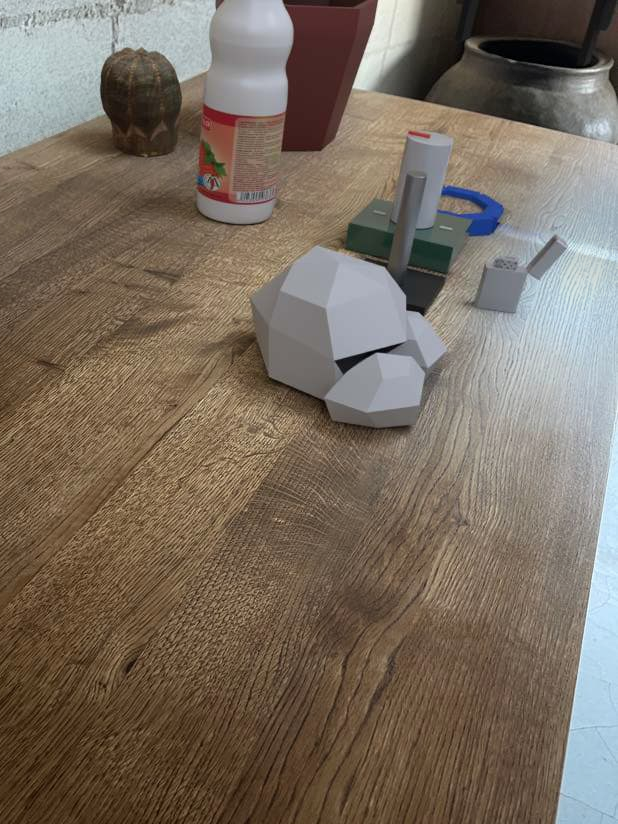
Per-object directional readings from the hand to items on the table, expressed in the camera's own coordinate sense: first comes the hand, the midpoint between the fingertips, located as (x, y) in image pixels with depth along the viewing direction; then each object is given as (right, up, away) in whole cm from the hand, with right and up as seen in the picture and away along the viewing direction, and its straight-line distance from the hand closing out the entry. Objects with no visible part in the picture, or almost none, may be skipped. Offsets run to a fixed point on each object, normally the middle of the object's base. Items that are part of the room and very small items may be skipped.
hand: (521, 51), depth 100 cm
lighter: (-3, -29, -5) cm, 30 cm away
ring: (-4, -13, +15) cm, 20 cm away
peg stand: (-15, -27, -4) cm, 31 cm away
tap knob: (-11, -17, +4) cm, 21 cm away
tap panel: (-11, -19, +6) cm, 23 cm away
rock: (-23, -39, -19) cm, 49 cm away
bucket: (-23, +7, +37) cm, 45 cm away
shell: (-44, +1, +28) cm, 52 cm away
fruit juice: (-31, -14, +11) cm, 36 cm away
